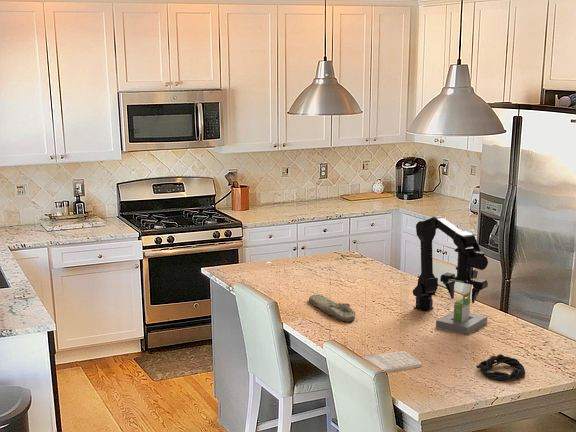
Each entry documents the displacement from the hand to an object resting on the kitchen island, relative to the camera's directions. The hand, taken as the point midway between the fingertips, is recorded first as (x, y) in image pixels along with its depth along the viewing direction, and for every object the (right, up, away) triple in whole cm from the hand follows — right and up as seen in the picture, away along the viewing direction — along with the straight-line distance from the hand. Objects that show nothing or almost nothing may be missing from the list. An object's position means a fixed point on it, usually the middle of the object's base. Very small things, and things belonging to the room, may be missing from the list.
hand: (462, 301), depth 303 cm
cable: (+4, -20, -46) cm, 50 cm away
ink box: (0, -10, +2) cm, 10 cm away
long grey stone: (-53, -7, +21) cm, 57 cm away
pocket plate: (0, -10, +2) cm, 10 cm away
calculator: (-35, -19, -38) cm, 55 cm away
